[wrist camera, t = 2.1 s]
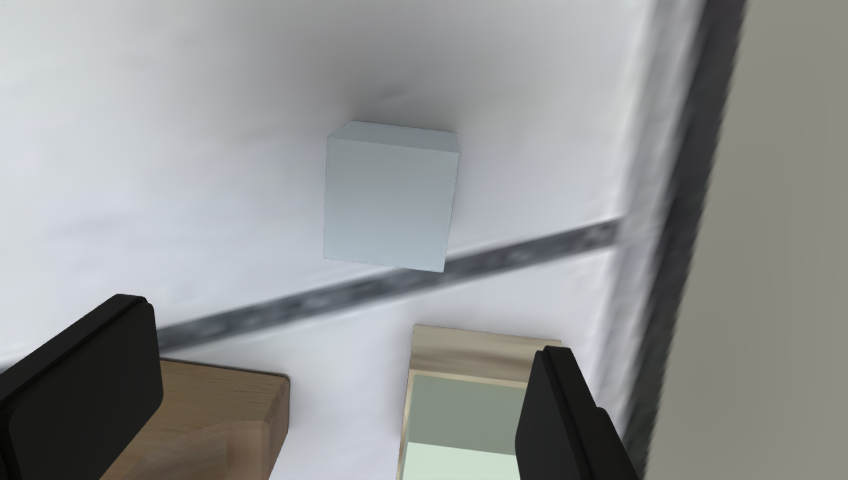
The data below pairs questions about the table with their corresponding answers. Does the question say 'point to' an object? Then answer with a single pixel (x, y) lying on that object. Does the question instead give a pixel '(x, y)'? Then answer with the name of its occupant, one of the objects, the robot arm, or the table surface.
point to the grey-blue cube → (389, 195)
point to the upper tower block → (461, 431)
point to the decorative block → (209, 427)
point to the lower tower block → (469, 360)
